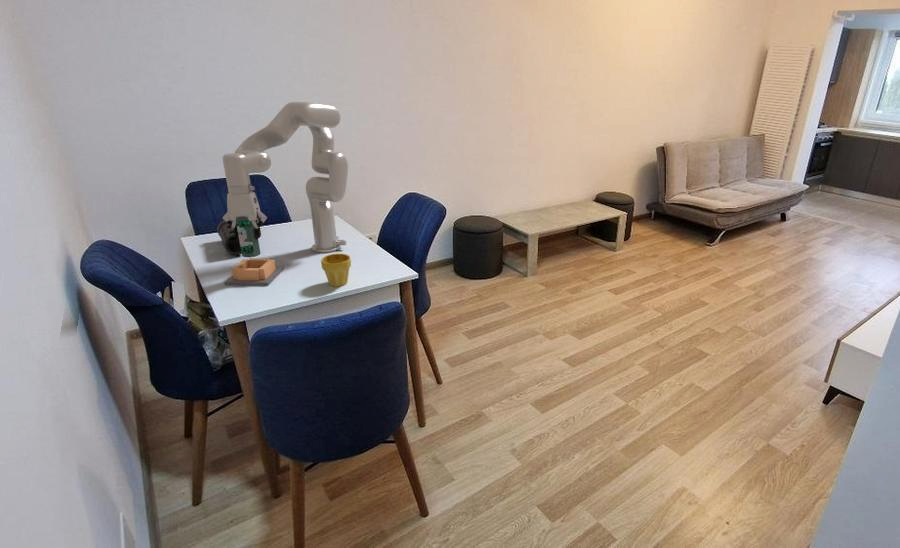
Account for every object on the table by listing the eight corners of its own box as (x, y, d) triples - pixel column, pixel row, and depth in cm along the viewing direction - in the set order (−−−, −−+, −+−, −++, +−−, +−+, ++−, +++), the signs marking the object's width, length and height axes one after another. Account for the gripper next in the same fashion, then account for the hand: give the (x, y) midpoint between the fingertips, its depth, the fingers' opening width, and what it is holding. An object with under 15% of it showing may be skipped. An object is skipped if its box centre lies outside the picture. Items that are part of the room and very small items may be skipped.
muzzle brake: (226, 259, 192) (221, 235, 188) (219, 241, 214) (214, 219, 210) (250, 255, 196) (246, 232, 192) (241, 237, 218) (237, 216, 214)
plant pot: (338, 291, 162) (335, 265, 158) (317, 284, 167) (314, 259, 163) (358, 281, 170) (356, 256, 166) (338, 275, 175) (335, 251, 171)
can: (239, 255, 170) (231, 216, 164) (253, 250, 174) (247, 212, 169) (248, 258, 166) (241, 218, 161) (263, 253, 171) (257, 214, 165)
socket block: (284, 269, 181) (282, 256, 179) (268, 285, 166) (265, 272, 164) (244, 268, 182) (242, 256, 180) (224, 285, 167) (222, 272, 165)
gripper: (268, 187, 164) (275, 235, 171) (220, 187, 165) (230, 234, 172) (259, 192, 157) (267, 241, 164) (210, 191, 158) (220, 240, 165)
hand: (248, 237), depth 168 cm, fingers closed on can, 6 cm apart
